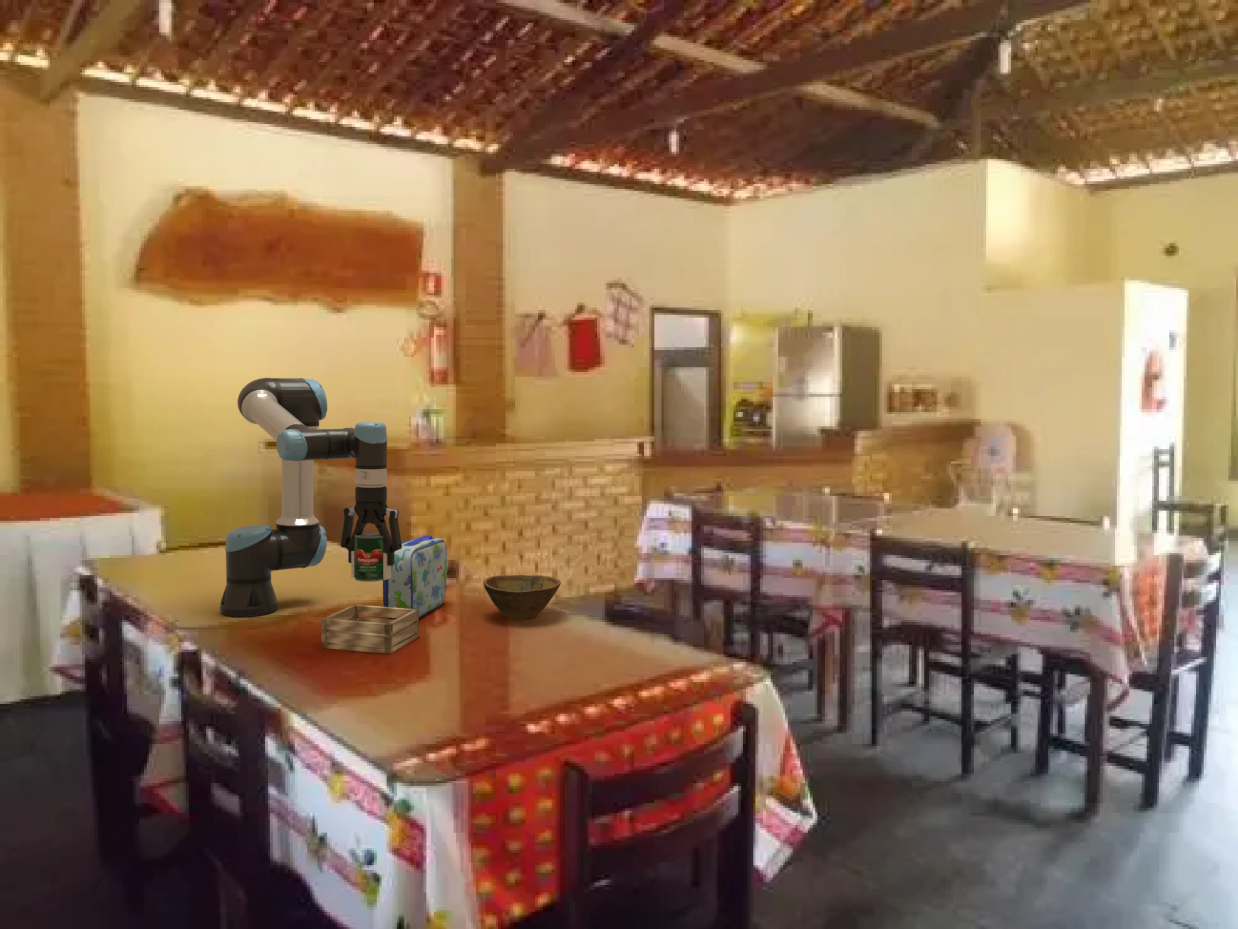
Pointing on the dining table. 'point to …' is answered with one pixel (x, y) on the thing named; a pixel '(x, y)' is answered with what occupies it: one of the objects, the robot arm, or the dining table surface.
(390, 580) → the lunch box
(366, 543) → the canned tomato
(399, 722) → the dining table surface
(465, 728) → the dining table surface
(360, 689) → the dining table surface
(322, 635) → the crate
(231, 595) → the robot arm
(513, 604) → the bowl
